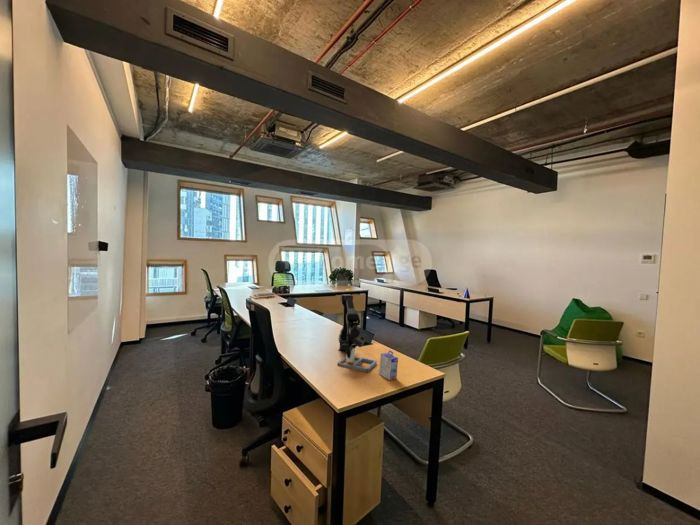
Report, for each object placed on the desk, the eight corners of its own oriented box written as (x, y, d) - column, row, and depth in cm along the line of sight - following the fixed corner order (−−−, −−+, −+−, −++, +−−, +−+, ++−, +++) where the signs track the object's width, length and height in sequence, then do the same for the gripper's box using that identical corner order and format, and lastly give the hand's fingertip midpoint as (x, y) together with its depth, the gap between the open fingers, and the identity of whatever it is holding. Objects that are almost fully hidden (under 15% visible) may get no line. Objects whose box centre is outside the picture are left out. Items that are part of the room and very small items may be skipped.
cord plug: (345, 361, 183) (346, 348, 183) (348, 359, 187) (349, 346, 186) (351, 362, 181) (352, 350, 181) (354, 360, 185) (355, 348, 185)
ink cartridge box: (397, 378, 165) (398, 353, 164) (389, 380, 162) (391, 355, 161) (386, 372, 173) (387, 348, 172) (378, 373, 170) (380, 349, 169)
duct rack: (337, 365, 179) (337, 361, 179) (348, 357, 193) (348, 354, 193) (367, 372, 171) (367, 369, 171) (376, 363, 185) (376, 360, 184)
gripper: (357, 338, 171) (355, 364, 172) (368, 331, 188) (367, 354, 189) (340, 335, 176) (339, 360, 177) (353, 328, 193) (352, 351, 194)
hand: (350, 356), depth 184 cm, fingers closed on cord plug, 4 cm apart
